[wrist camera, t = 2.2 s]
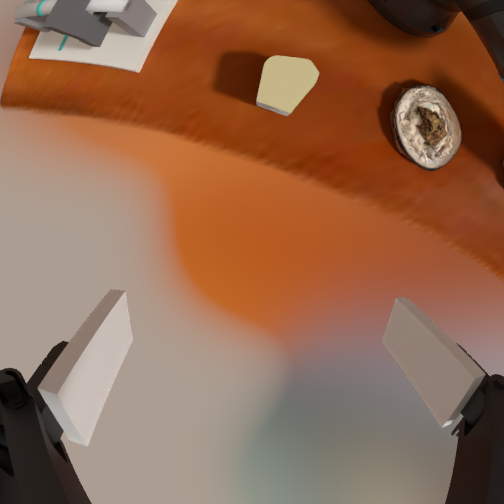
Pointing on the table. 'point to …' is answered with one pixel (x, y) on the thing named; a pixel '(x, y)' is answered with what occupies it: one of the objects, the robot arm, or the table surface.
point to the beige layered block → (285, 83)
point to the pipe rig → (116, 40)
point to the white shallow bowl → (425, 127)
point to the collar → (78, 22)
